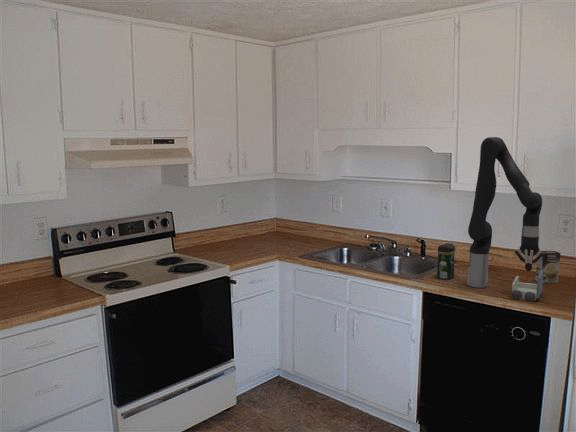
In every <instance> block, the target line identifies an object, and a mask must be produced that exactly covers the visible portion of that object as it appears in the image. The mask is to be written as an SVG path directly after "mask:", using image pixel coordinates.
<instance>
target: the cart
mask: <svg viewBox="0 0 576 432" xmlns="http://www.w3.org/2000/svg"><path fill="white" fill-rule="evenodd" d="M519 277H520V276H519V275H516V276H515V278H514V280H513V282H512V283H511V298H510V299H514V300H517V301H518V300H522V301H527V302H536V300H537V298H536V294H537V283H527V282H520V278H519Z"/></svg>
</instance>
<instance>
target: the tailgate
mask: <svg viewBox="0 0 576 432" xmlns="http://www.w3.org/2000/svg"><path fill="white" fill-rule="evenodd" d="M536 282H537V283H536V284H537V294H536V300H537V299H538V300H539V299H540V297H541V294H542V291H543V285H544V283H543V270H540V273H539V275H538V279H537V281H536Z"/></svg>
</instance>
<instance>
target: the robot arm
mask: <svg viewBox="0 0 576 432" xmlns="http://www.w3.org/2000/svg"><path fill="white" fill-rule="evenodd" d="M496 161H498V162H499V164H500V166H501V167H502V170H503V173H504V175H505V177H506V179H507V181H508V182H509V184H510V185H511V187H512V188H513V189H514V191H515V192H516V195H517V198H518V199H519V202H520V203H521V205H522V206H523V207H525V213H523V214H522V215H523V216H522V227H521V235H520V238H521V239H520V246H519V249H516V250H515V251H514V253H515V255H516V256H517V257H518V259H519V261H520V262H522V263H524V264H525V265H524V270H525V271H526V272H531V271H532V270H533V264H537V261H538V260H539V259H540V258H541V257H542V256H543V255H544V253H543V252H541V251H542V250H540V248H539V245H540V243H539V241H540V227H539V226H540V215H541V211H542V206H543V198H542V195H541V194H540V193H538V192H536V191H535V192H533V191H532V189H531V187H530V181H529V180H528V179H527V178H526V176H525V175H524V174H523V172H522V171H521V169H520V168H519V166H518V165H517V164H516V162H515V160H514V159H513V157H512V155H511V153H510V151H509V149H508V147H507V145H506V143H505V141H504V140H503V139H502V138H501V137H498V136H489V137H486V138H484V139H483V140H482V141H481V144H480V152H479V167H478V173H477V174H478V175H477V180H476V185H475V186H476V187H475V191H474V200H473V207H472V212H471V216H470V221H469V224H468V228H467V233H468V236H469V238H470V239H471V240H473V241H472V244H471V245H470V246H469V256H468V257H469V259H468V260H469V261H468V267H467V279H466V286H469V287H473V288H477V289H478V288H479V289H480V288H481V289H482V288H483V289H484V288H487V287H488V279H489V278H488V276H489V275H488V274H489V261H490V260H489V259H490V249H491V247H492V237H493V228H492V226H491V224H490V223H489V222H488V221H487V215H488V212H489V210H490V207H491V206H492V204H493V202H494V199H495V196H496V190H497V177H496V170H495V169H496V168H495V167H496V166H495V165H496ZM521 253H522V254H523V255H522V254H521ZM536 255H539V256H537V257H535V256H536ZM534 257H535V258H534Z"/></svg>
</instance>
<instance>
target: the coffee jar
mask: <svg viewBox="0 0 576 432" xmlns="http://www.w3.org/2000/svg"><path fill="white" fill-rule="evenodd" d="M455 247H456V246H455V245H454V244H453V243H444V244H440V245H438V246H437V255H438V256H437V270H436V277H437V278H438V279H440V280H451V279H453V278H454V277H455V255H456V248H455Z"/></svg>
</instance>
